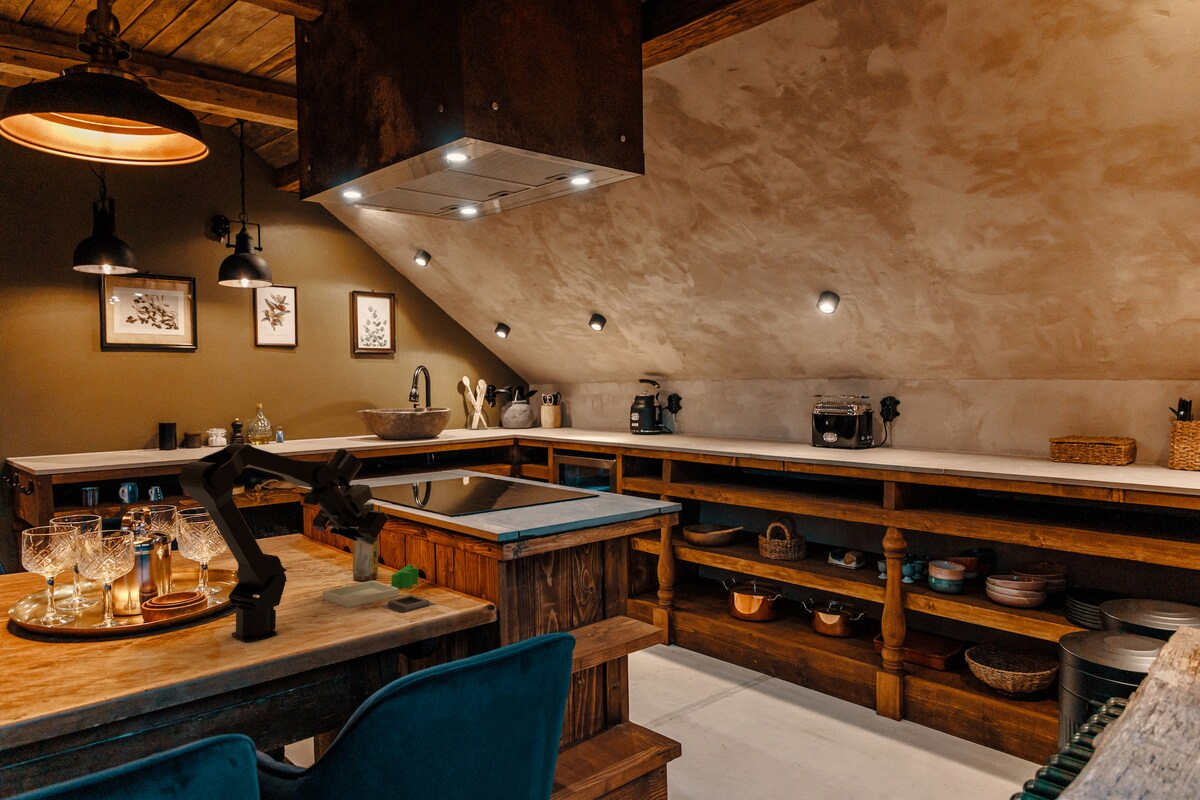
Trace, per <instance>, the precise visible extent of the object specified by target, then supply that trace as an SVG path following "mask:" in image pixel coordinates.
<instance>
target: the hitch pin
mask: <svg viewBox="0 0 1200 800" xmlns="http://www.w3.org/2000/svg"><path fill="white" fill-rule="evenodd" d="M357 531H358V530H356V532H357ZM370 565H371V544H369V543H367V542H364V541H362V540H360V539H358V538H356V565H355V576H359V577H364V576H369V575H370Z"/></svg>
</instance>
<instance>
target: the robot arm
mask: <svg viewBox="0 0 1200 800" xmlns="http://www.w3.org/2000/svg"><path fill="white" fill-rule="evenodd" d="M246 467H248V468H251V469H256V470H260V471H263V472H267V473H271V474H274V475H278V476H280V477H282V478H283V479H284V480H285V481H286V482H289V483H290V484H292V485H294V486H296V487H303V488H310V490H309V491H306V492H305V493H304V494H305V495H304V498H303V504H304V505H310V506H317V505H318V506H319V507H320V509H319V511H318V513H317V514H316V515H315V516H314V518H313V519H312V526H313V527H314V530H315V529H316V530H317V531H319V532H326V531H327V527H328V528H329V529H330V531H329V533H330V534H333V535H335V536H339V537H342V538H344V539H348V540H351V541H352V542H353V541H356V538H358V539H360V540H362V541H364V542H367V543H369V544H371V545H373V544H374V542H375V538H376V537H377V536H378V537H379V534H381V533H380V532H381V531H382V530H383V528H384V526H385V525H386V523H387V522H388V520H389V517H388V515H387V513H385V512H384V511H380V510H379V511H378V510H374V511H369V512H368V513H363V514H362V515H359V512H362V510H363V509H364V508H363V507H362V505H364V504H365V503H366V502H370V501H371V500H372V499H373V498H374V496H373V493H372V489H371V488H370V485H368V484H360V483H359V484H358V483H357V484H350V483H351V482H352V480H353V479H354V478H355V476H356V474H357V473H358V472H359V471H360V469H361V467H363V462H362V460H361V459H360V457H357V456H356V455H354V454H352V453H350V452H348V451H347V449H343V448H338V449H337V450H336V451H335V454H334V455H333V457H332V458H331V460H330V461H329V463H328V464H327V463H325V462H323V461H315V460H306V459H305V460H304V459H293V458H290V457H287V456H283V455H280V454H278V453H274V452H271V451H267V450H264V449H261V448H258V447H254V446H252V445H251V444H248V443H235V442H232V443H229V444H228V445H226V446H225V447H223V448H221V449H220V450H217V451H215V452H212V453H210V454H208V455H204V456H203V457H200V458H199V459H198V460H194V461H190V462H188V463H186V464H185V465H184V466H183V467H182V468H181V471H180V474H179V476H178V482H179V486H180V487H181V488H182V489H183V490H184V491H185V493H186V494H187V495H188V496H189V497H190V498H191V499H192V500H194V501H195V502H196V503H198V504H199V505H201V506H202V507H204V509H205V510H206V512H207V513H208V514H209V516H210V518H211V520H212V522H213V523H214V525H215V526H216V528H217V530H218V531H219V533H220V536H221V537H222V539H223V540H224V541H225V543H226V545H227V547H228V549H229V550H230V552H231V555H232V556H233V557H234V559H235V560H236V562H237V573H236V574H237V578H238V582H237V584H236V585H235V586H234V588H233V589H232V590H231V592H230V593H229V595H228V599H229V602H230V605H231V606H236V607H235V631H234V632H231V636H232V637H234V638H236V639H238V640H240V641H242V642H244V643H251V642H255V641H259V640H262V639H266V637H267V638H270V637H269V636H271V637H274V636H273V635H275V636H277V635H278V632H277V631H276V628H277V627H276V625H277V624H276V623H277V622H276V621H277V617H276V616H277V609H275V607H278V606H280V603H281V600H282V596H283V593H284V589H285V587H286V583H287V581H288V580H287V575H286V572H287V571H288V570H287V569H286V568H284V566H283V564H282V561H281V559H280V558H279V556H278V555H274V554H268V553H264V552H263V551H262V549H261V547H260V545H259V544H258V542H257V539H256V538H255V536H254V535H253V533H252V531H251V529H250V528H249V525H248V524H247V522H246V521H245V518H244V517H243V514H242V513H241V511H240V510H239V507H238V506H237V504H236V503H235V500H234V498H233V493H234V484H233V481H234V480H235V479H238V478H239V477H240V475H241V474H242V473H243V471H244V470H245V468H246ZM356 530H358V531H357V532H356ZM254 595H255V596H254ZM256 596H258V597H256ZM276 634H277V635H276Z"/></svg>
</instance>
